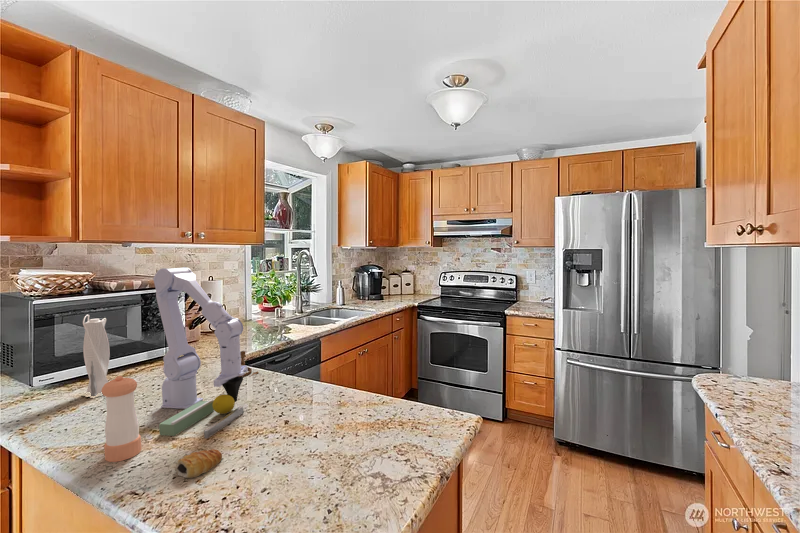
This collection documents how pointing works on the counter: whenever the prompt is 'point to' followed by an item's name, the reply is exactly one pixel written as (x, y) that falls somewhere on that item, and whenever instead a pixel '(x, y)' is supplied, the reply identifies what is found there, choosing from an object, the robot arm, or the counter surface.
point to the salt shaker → (121, 420)
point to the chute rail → (223, 422)
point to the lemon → (223, 404)
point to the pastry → (198, 463)
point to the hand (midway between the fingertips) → (233, 401)
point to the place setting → (244, 365)
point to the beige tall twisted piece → (96, 354)
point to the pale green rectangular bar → (186, 418)
